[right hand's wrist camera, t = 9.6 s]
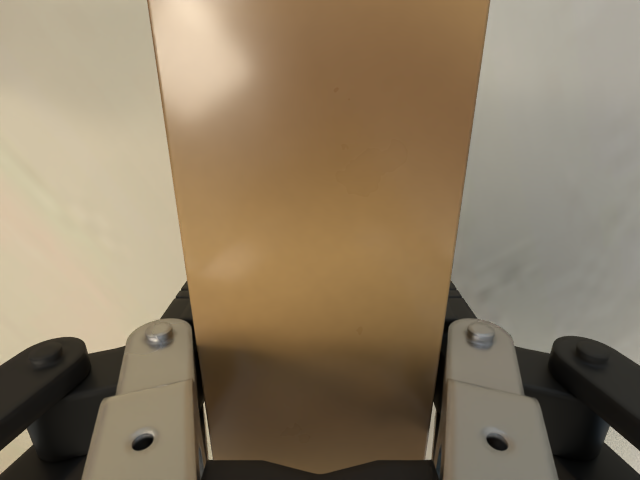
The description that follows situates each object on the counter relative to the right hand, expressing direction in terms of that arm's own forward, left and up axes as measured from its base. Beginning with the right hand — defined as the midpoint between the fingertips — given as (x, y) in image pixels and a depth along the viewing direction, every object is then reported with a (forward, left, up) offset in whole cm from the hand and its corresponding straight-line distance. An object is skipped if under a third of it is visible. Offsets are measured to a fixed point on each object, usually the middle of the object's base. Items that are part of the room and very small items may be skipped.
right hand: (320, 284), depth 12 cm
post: (+3, -27, -3) cm, 27 cm away
